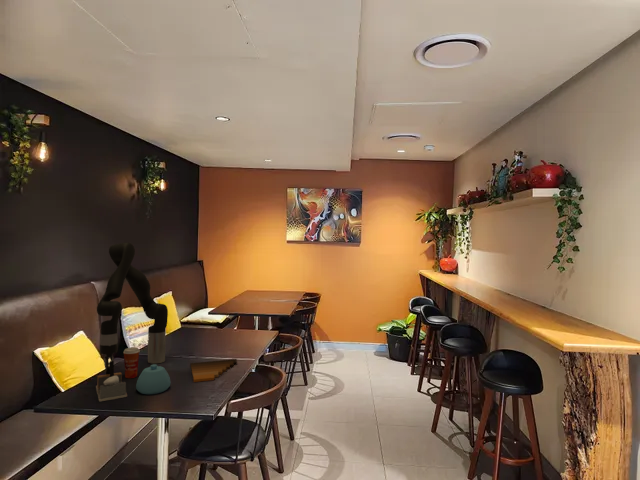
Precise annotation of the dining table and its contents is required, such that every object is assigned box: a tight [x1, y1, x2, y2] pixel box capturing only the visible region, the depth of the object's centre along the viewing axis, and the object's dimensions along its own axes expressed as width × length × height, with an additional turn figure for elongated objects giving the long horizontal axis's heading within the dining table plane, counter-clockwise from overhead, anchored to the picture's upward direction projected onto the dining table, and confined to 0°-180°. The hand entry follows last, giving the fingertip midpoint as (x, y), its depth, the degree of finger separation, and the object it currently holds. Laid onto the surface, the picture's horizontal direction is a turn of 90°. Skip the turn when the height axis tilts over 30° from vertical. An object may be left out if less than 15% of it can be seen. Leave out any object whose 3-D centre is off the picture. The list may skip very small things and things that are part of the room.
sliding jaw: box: [97, 371, 123, 388], centre depth 192 cm, size 2×10×5 cm, turn 123°
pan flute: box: [189, 358, 238, 383], centre depth 217 cm, size 25×3×25 cm
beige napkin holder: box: [95, 381, 128, 402], centre depth 187 cm, size 19×11×6 cm, turn 33°
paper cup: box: [123, 347, 141, 379], centre depth 208 cm, size 8×8×14 cm
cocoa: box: [103, 360, 119, 385], centre depth 186 cm, size 10×6×12 cm, turn 5°
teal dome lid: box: [135, 363, 171, 395], centre depth 191 cm, size 15×15×12 cm
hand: (108, 378), depth 195 cm, fingers closed
